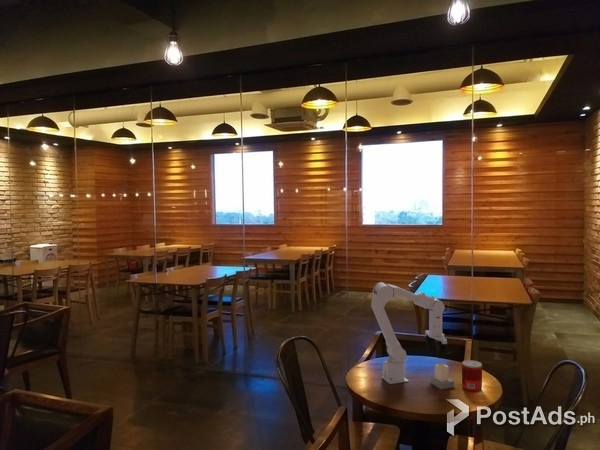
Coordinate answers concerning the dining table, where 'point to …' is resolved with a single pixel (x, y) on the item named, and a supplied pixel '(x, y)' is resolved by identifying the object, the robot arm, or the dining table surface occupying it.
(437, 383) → the grey square block
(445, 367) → the cream block
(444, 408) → the dining table surface
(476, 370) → the canned food
